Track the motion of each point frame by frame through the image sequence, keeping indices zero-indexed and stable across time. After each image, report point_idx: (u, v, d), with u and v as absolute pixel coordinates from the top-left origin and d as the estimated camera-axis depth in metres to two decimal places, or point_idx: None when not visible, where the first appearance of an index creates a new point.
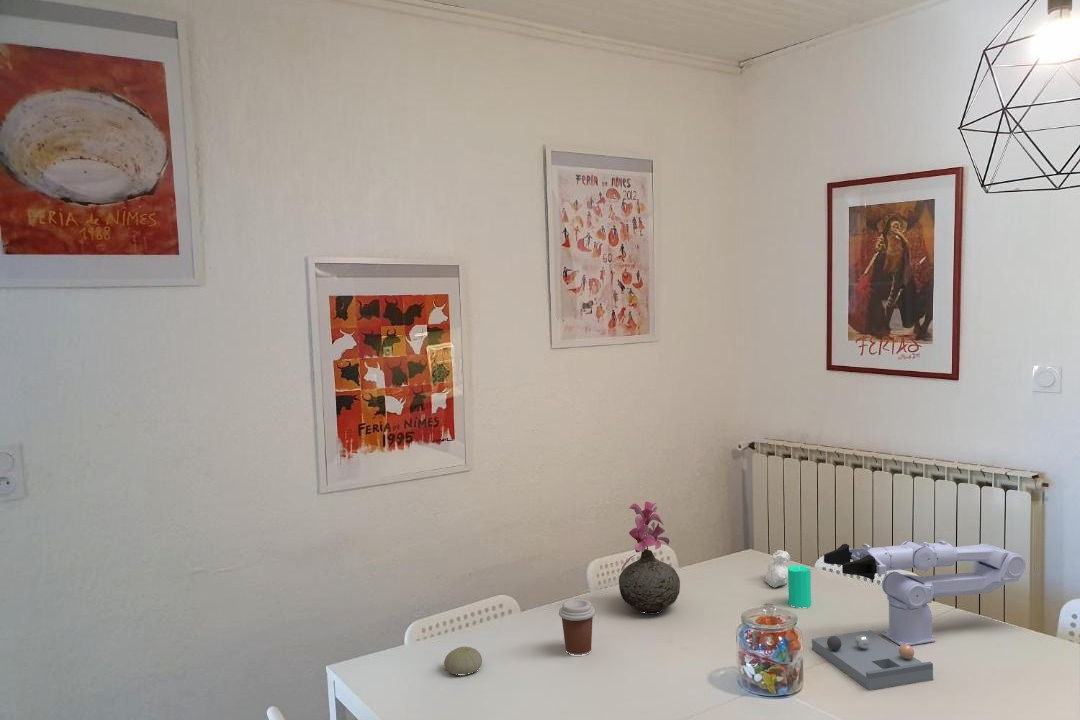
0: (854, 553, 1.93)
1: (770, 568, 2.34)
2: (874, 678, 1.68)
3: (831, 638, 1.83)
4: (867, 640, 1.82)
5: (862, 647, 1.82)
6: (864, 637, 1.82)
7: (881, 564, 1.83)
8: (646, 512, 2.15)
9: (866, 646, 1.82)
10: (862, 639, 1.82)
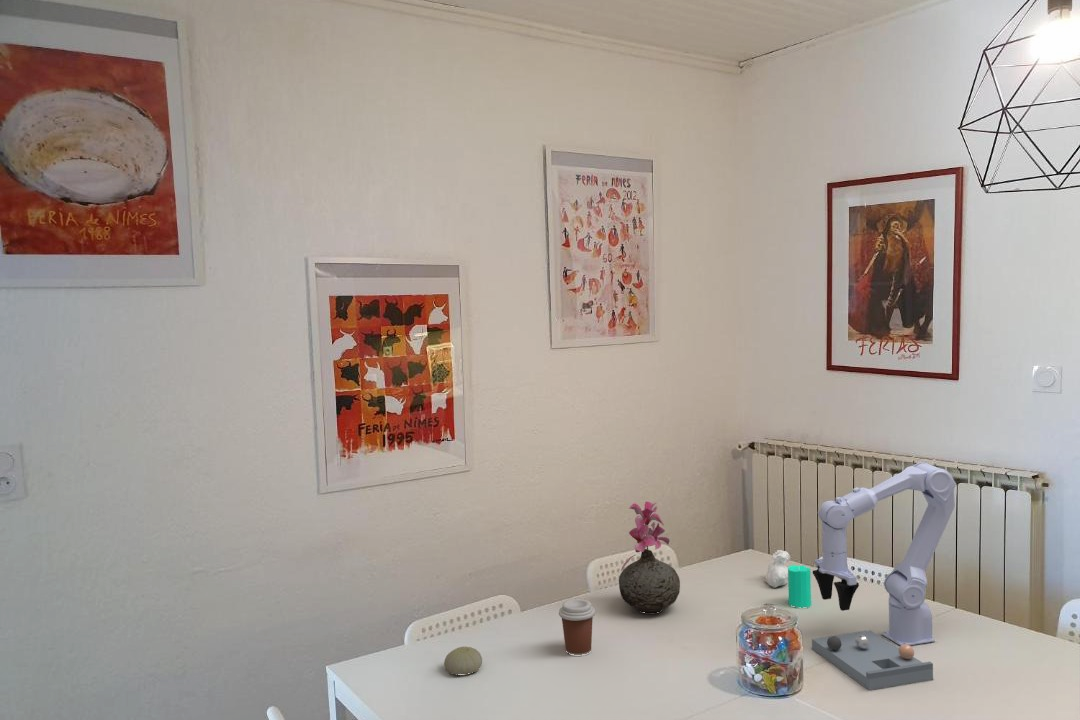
0: None
1: (770, 568, 2.34)
2: (874, 678, 1.68)
3: (831, 638, 1.83)
4: (867, 640, 1.82)
5: (862, 647, 1.82)
6: (864, 637, 1.82)
7: (846, 579, 1.86)
8: (646, 512, 2.15)
9: (866, 646, 1.82)
10: (862, 639, 1.82)
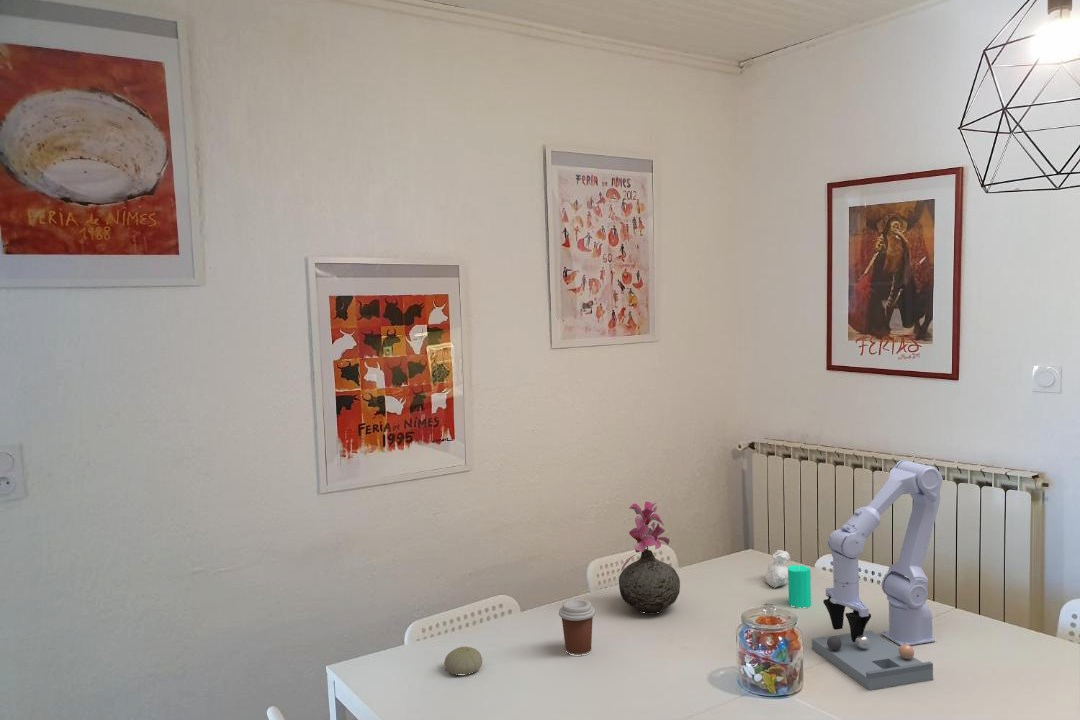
0: None
1: (770, 568, 2.34)
2: (874, 678, 1.68)
3: (831, 638, 1.83)
4: (867, 640, 1.82)
5: (862, 647, 1.82)
6: (864, 637, 1.82)
7: (858, 610, 1.82)
8: (646, 512, 2.15)
9: (866, 646, 1.82)
10: (862, 639, 1.82)
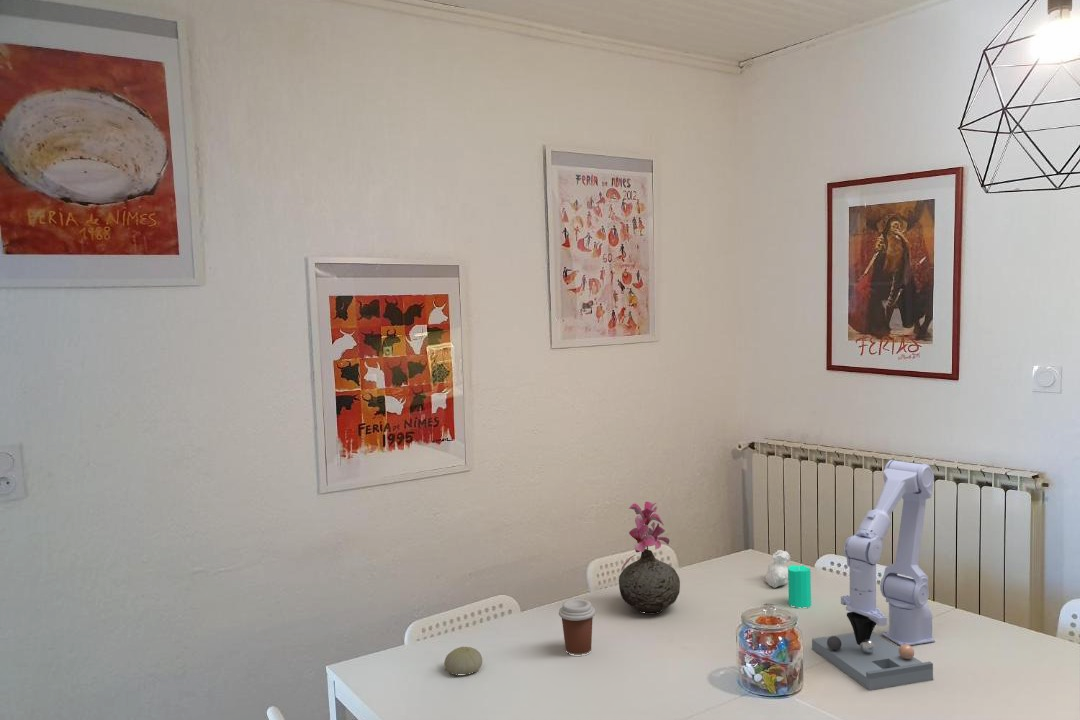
0: None
1: (770, 568, 2.34)
2: (874, 678, 1.68)
3: (831, 638, 1.83)
4: (872, 651, 1.80)
5: None
6: (871, 650, 1.79)
7: (875, 619, 1.75)
8: (646, 512, 2.15)
9: None
10: (867, 651, 1.80)
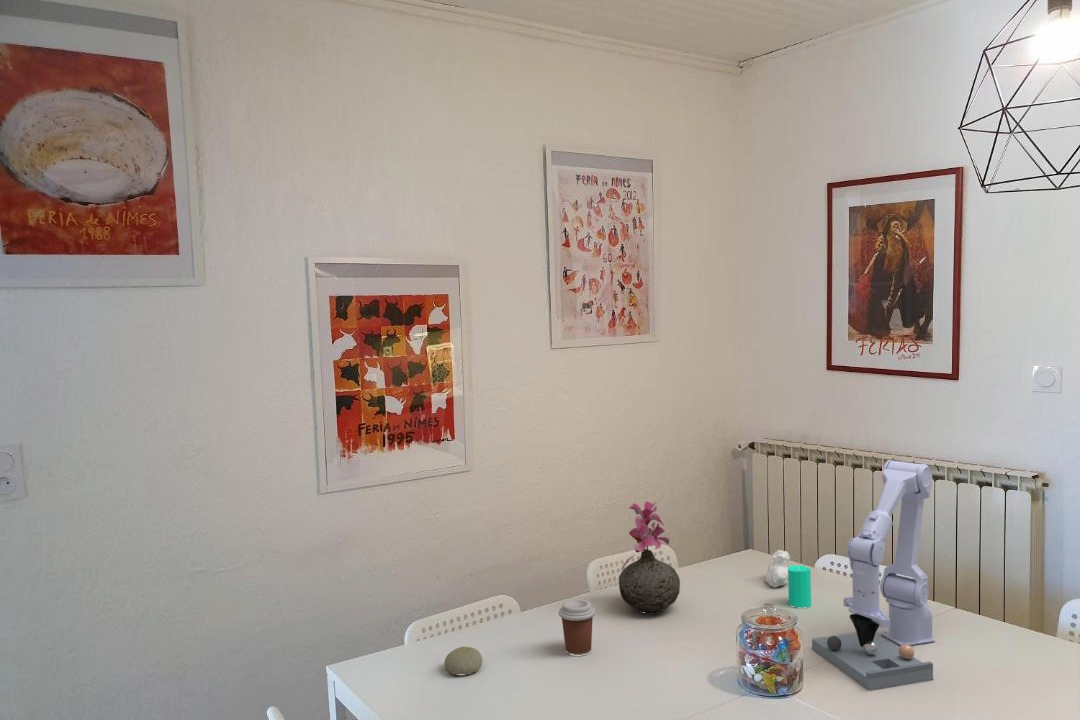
0: None
1: (770, 568, 2.34)
2: (874, 678, 1.68)
3: (831, 638, 1.83)
4: None
5: None
6: (872, 654, 1.79)
7: (879, 621, 1.74)
8: (646, 512, 2.15)
9: None
10: (868, 654, 1.79)
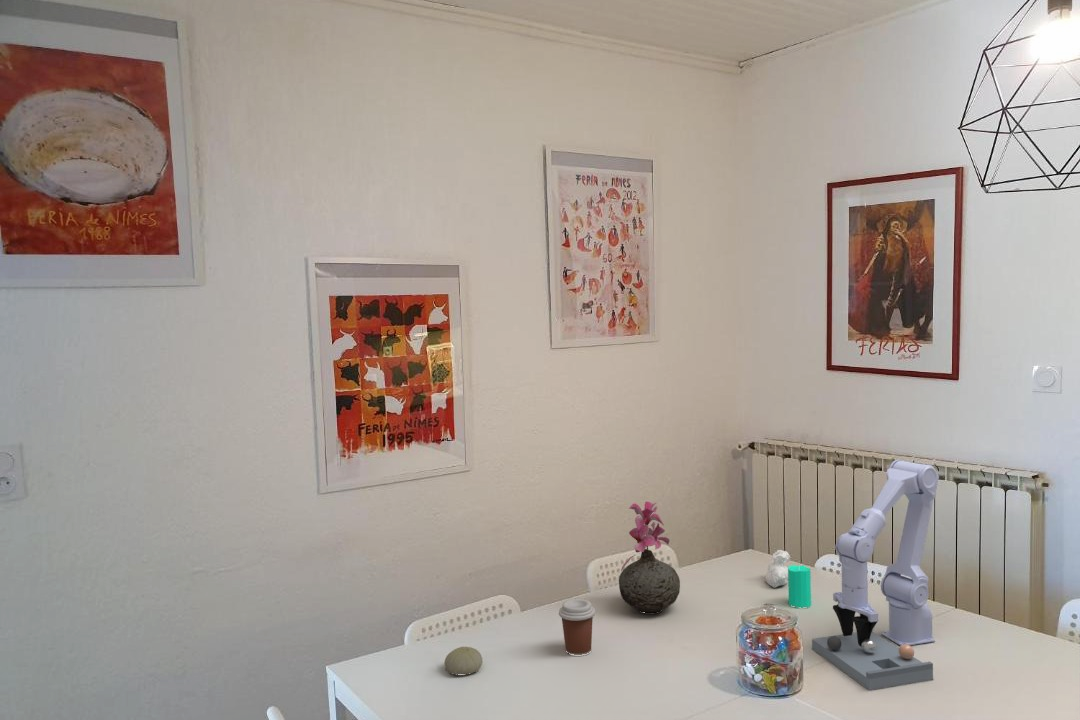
0: None
1: (770, 568, 2.34)
2: (874, 678, 1.68)
3: (831, 638, 1.83)
4: None
5: None
6: (872, 651, 1.79)
7: (867, 615, 1.79)
8: (646, 512, 2.15)
9: None
10: (868, 652, 1.80)
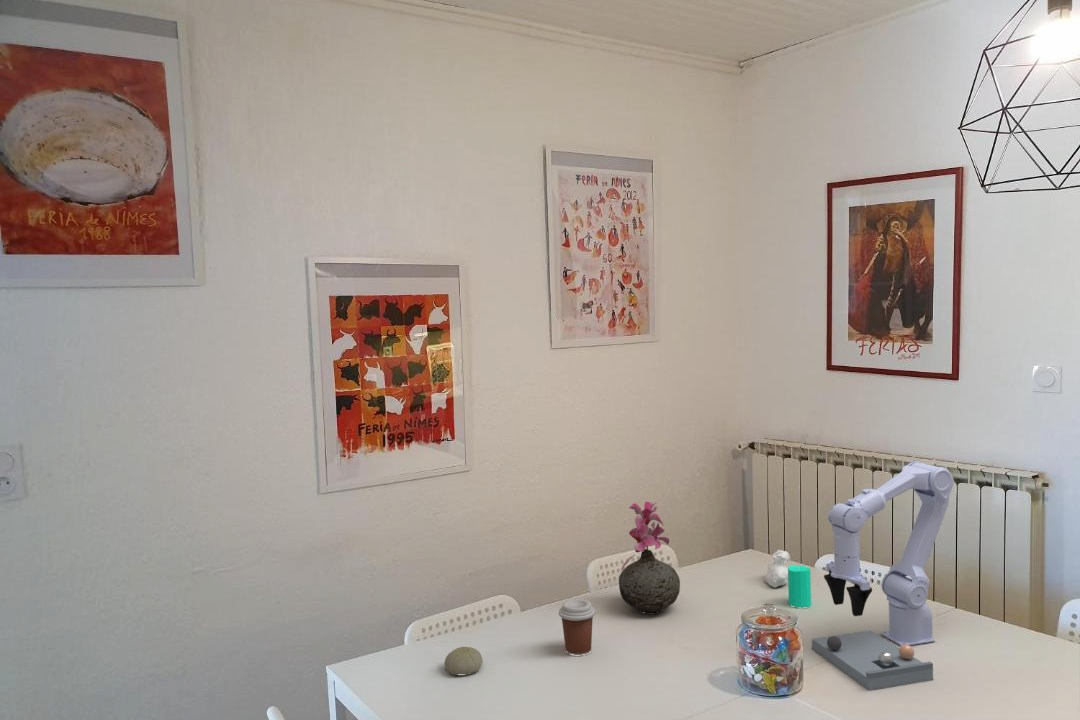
0: None
1: (770, 568, 2.34)
2: (874, 678, 1.68)
3: (831, 638, 1.83)
4: (883, 651, 1.76)
5: (887, 658, 1.74)
6: None
7: (859, 584, 1.81)
8: (646, 512, 2.16)
9: (887, 654, 1.75)
10: (880, 654, 1.76)
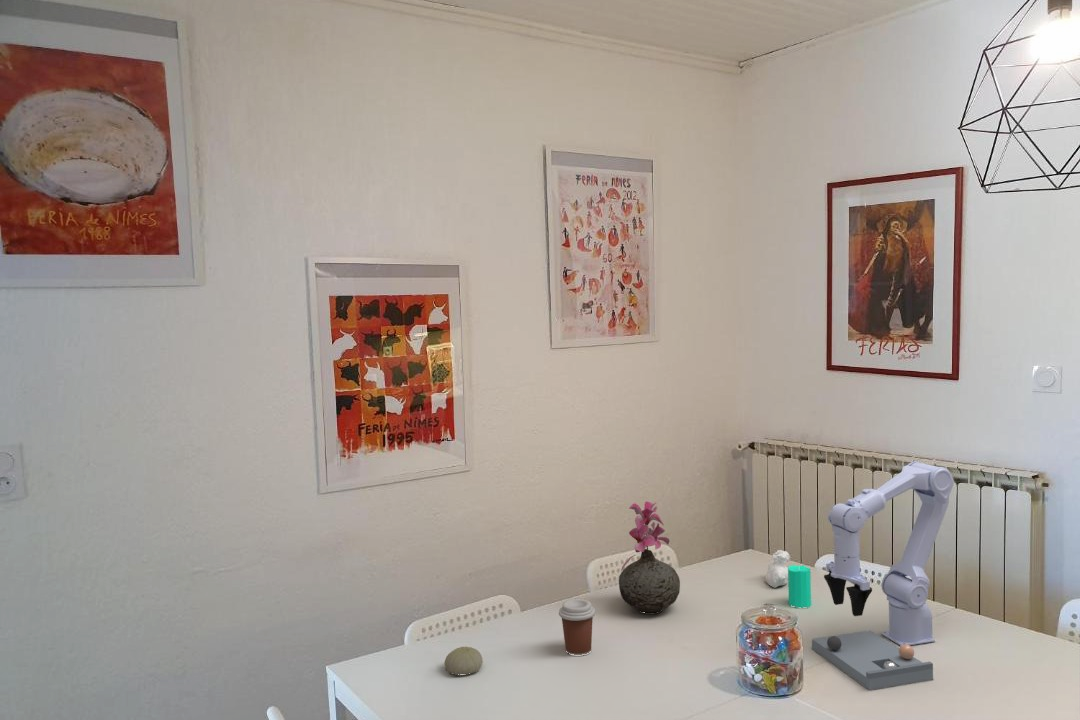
0: None
1: (770, 568, 2.34)
2: (874, 678, 1.68)
3: (831, 638, 1.83)
4: None
5: None
6: (890, 664, 1.74)
7: (859, 584, 1.81)
8: (646, 512, 2.15)
9: None
10: None
